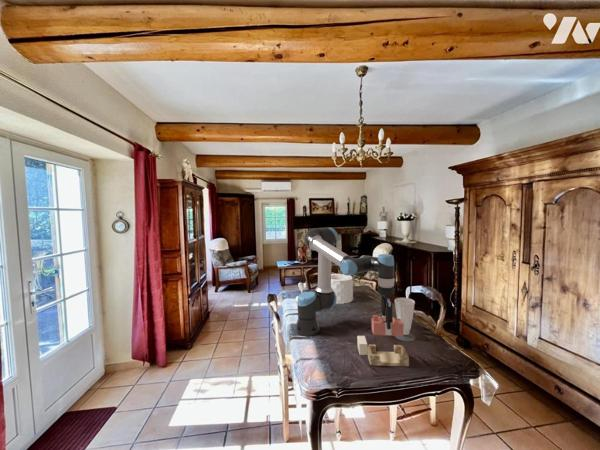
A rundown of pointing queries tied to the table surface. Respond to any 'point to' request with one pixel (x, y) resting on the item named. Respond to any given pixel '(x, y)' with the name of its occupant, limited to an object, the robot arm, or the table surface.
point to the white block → (362, 345)
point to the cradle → (388, 356)
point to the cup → (405, 317)
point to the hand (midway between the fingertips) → (386, 331)
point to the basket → (342, 287)
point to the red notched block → (379, 326)
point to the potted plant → (302, 287)
